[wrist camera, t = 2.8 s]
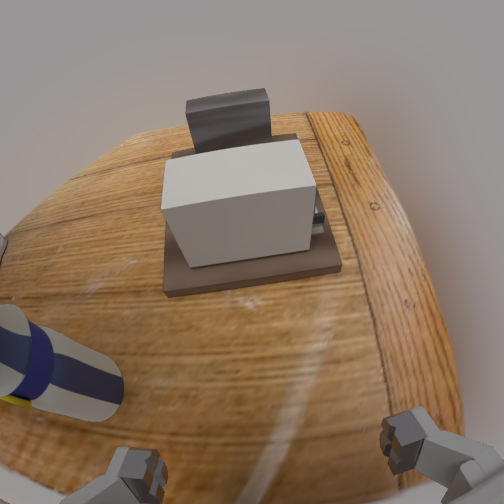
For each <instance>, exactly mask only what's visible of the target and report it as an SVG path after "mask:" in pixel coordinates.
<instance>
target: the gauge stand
mask: <svg viewBox="0 0 504 504" xmlns="http://www.w3.org/2000/svg"><path fill="white" fill-rule="evenodd" d="M185 114H186V118H187V121H188V125H189V129H190V133H191V136H192V140H193V143H194V147H195V148H192V149H187V150H182V151H177V152H172V158H171V159H175V158H179V157H184V156H189V155H195V154H200V153H205V152H211V151H217V150H223V149H229V148H235V147H242V146H248V145H256V144H263V143H271V142H279V141H288V140H297V139H298V138H297V136H296V133H293V134H284V135H275V136H271V120H270V106H269V99H268V96H267V93H266V91H265V89H264V88H262V89H254V90H246V91H239V92H232V93H225V94H219V95H213V96H208V97H203V98H197V99H192V100H188V101H187V103H186V113H185ZM320 212H324V214H325V219H324V223H320V224H313V225H312V231H311V240H310V248H309V250H303V251H296V252H290V253H283V254H277V255H270V256H264V257H257V258H251V259H244V260H237V261H231V262H224V263H218V264H211V265H204V266H197V267H191V268H190V266H189V265H188V263H187V261H186V259H185V257H184V255H183V253H182V251H181V249H180V247H179V245H178V243H177V241H176V239H175V237H174V235H173V233H172V231H171V229H170V227H169V225H168V223H167V221H166V231H165V251H164V281H163V292H164V293H165V294H166V296H167V297H168V298H169V297H176V296H184V295H192V294H199V293H207V292H214V291H221V290H228V289H235V288H242V287H249V286H255V285H262V284H268V283H275V282H281V281H287V280H294V279H300V278H306V277H312V276H318V275H324V274H330V273H336V272H340V270H341V267H342V262H341V259H340V255H339V252H338V249H337V246H336V243H335V240H334V237H333V234H332V231H331V228H330V225H329V222H328V219H327V216H326V213H325V210H324V207H323V204H322V201H321V199H320V196H319V193H318V190H317V187H316V195H315V213H320Z"/></svg>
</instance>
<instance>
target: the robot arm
mask: <svg viewBox="0 0 504 504" xmlns="http://www.w3.org/2000/svg"><path fill="white" fill-rule="evenodd" d="M6 245H7V240H6V239H5V238H4V237H3V236H2V235H1V234H0V260H1V257H2V254H3V252H4V250H5V248H6ZM381 426H382V428H383V431H382V432H381V433H380V447H381V450H382V452H383V454H384V455H385V456H387V457H389V460H388V465H389V467H390V469H391V471H392V474H393V476H394V475H397V474H400V473H403V472H405V471H408V470H411V469H414V468H415V470H417V471H418V472H420V473H422V474H423V475H425V476H427V477H429V478H430V479H432V480H434V481H436V482H438V483H439V484H441V485H443V486H445V487H447V488H448V490H447V492H446V494H445V495H444V497H443V499H442V500H441V503H442V504H504V460H503V459H502V458H501V456H500V455H499V454H498V452H497V451H496V450H495V449H494V447H493V446H490V445H487V444H484V443H480V442H477V441H474V440H471V439H468V438H465V437H462V436H459V435H456V434H454V433H451V432H448V431H445V430H443V431H440V430H439V428H438V427H437V426H436V424H435V423H434V421H433V420H432V419H431V417H430V416H429V415H428V413H427V412H426V411H425V409H424V408H423V407H422V406H417V407H415V408H412V409H409V410H406V411H403V412H400V413H397V414H394V415H392V416H389V417H385V418H383V420H382V424H381ZM159 457H160V454H159V452H158V451H157V449H148V448H135V447H124V446H119V447H118V448H117V449H116V451H115V453H114V455H113V458H112V460H111V462H110V464H109V467H108V469H107V471H106V474H105V475H100V476H99V477H97V478H96V479H94V480H93V481H91V482H90V483H88V484H87V485H85V486H84V487H82V488H81V489H79V490H78V491H76V492H74V493H73V494H71V495H70V496H68V497H66V498H65V499H63V500H61V502H60V504H141V503H144V504H162V502H163V497H164V493H165V492H164V490H163V488H162V487H163V486H164V485H165V484H167V480H168V470H167V467H166V465H165V463H164V462H163V461H162V460H160V459H159ZM0 504H9V503H7V502H5V501H3V500H2V499H0Z"/></svg>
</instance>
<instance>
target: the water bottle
mask: <svg viewBox="0 0 504 504" xmlns="http://www.w3.org/2000/svg"><path fill="white" fill-rule="evenodd" d="M123 391H124V385H123V379H122V375H121V372H120V370H119V368H118V366H117V365H116V363H115V362H114V361H113V360H112V359H111V358H109V357H108V356H106V355H104V354H102V353H100V352H97V351H95V350H92V349H90V348H88V347H86V346H83V345H81V344H79V343H77V342H75V341H74V340H72V339H70V338H68V337H66V336H65V335H63V334H61V333H59V332H57V331H55V330H53V329H51V328H48V327H44V326H36V325H35V324H33V323H32V322H30V321H28V320H27V318H26V316H25V314H24V313H23V311H22V310H21V309H20V308H18V307H17V306H15V305H12V304H3V305H0V399H1V400H4V401H6V402H9V403H12V404H15V405H19V406H22V407H26V408H30V407H31V406H32V407H34V408H37V409H40V410H44V411H48V412H52V413H57V414H61V415H65V416H69V417H73V418H77V419H81V420H85V421H89V422H101V421H104V420H106V419H108V418H110V417H111V416H112V415H113V414H114V413H115V412H116V411H117V409H118V408H119V406H120V404H121V401H122V398H123Z"/></svg>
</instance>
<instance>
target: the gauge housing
mask: <svg viewBox="0 0 504 504" xmlns="http://www.w3.org/2000/svg"><path fill="white" fill-rule="evenodd" d="M315 195H316V183H315V180H314V177H313V175H312V172H311V170H310V167H309V164H308V162H307V159H306V157H305V154H304V152H303V149H302V146H301V144H300V142H299V139H297V140H288V141H279V142H271V143H263V144H256V145H248V146H242V147H235V148H229V149H223V150H217V151H211V152H205V153H200V154H195V155H189V156H184V157H179V158H175V159H170V160H166V166H165V175H164V184H163V194H162V204H161V211H162V213H163V215H164V217H165V219H166V221H167V223H168V225H169V227H170V229H171V231H172V233H173V235H174V237H175V239H176V241H177V243H178V245H179V247H180V249H181V251H182V253H183V255H184V257H185V259H186V261H187V263H188V265H189V266H190V268H191V267H197V266H204V265H211V264H218V263H224V262H231V261H237V260H244V259H251V258H257V257H264V256H270V255H277V254H283V253H290V252H296V251H303V250H309V248H310V240H311V231H312V225H313V224H320V223H324V219H325V214H324V212H320V213H315Z"/></svg>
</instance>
